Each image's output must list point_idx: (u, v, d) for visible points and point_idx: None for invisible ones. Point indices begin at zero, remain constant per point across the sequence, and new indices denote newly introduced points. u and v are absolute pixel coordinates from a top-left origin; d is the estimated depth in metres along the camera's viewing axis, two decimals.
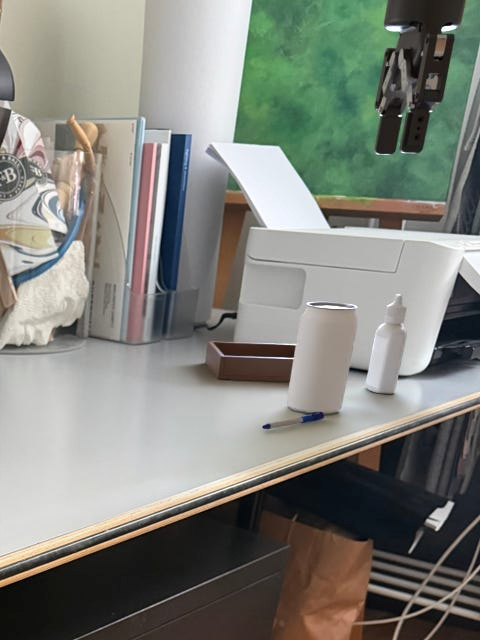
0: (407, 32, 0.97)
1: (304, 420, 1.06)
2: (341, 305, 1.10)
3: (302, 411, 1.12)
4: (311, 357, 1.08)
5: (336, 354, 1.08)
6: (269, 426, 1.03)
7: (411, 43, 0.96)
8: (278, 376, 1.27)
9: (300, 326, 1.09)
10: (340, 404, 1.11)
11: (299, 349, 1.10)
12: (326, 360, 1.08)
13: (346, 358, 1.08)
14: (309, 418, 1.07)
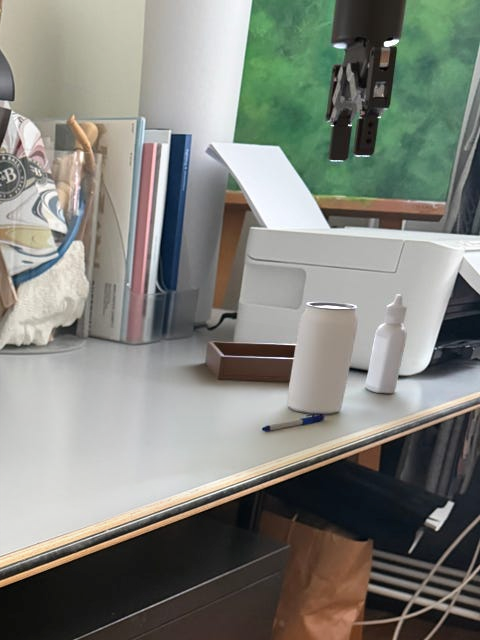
0: (353, 48, 1.06)
1: (304, 422, 1.06)
2: (341, 305, 1.10)
3: (302, 411, 1.12)
4: (311, 357, 1.08)
5: (336, 354, 1.08)
6: (269, 428, 1.03)
7: (357, 57, 1.05)
8: (278, 376, 1.27)
9: (300, 326, 1.09)
10: (340, 404, 1.11)
11: (299, 349, 1.10)
12: (326, 360, 1.08)
13: (346, 358, 1.08)
14: (309, 420, 1.07)
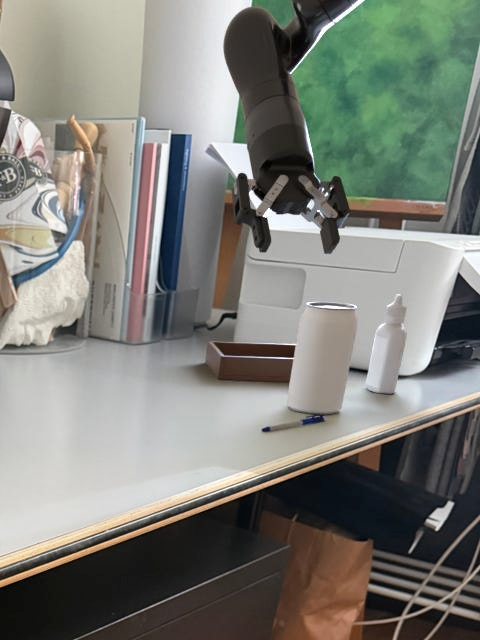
0: None
1: (304, 423, 1.06)
2: (341, 305, 1.10)
3: (302, 411, 1.12)
4: (311, 357, 1.08)
5: (336, 354, 1.08)
6: (268, 429, 1.03)
7: None
8: (278, 376, 1.27)
9: (300, 326, 1.09)
10: (340, 404, 1.11)
11: (299, 349, 1.10)
12: (326, 360, 1.08)
13: (346, 358, 1.08)
14: (309, 421, 1.07)
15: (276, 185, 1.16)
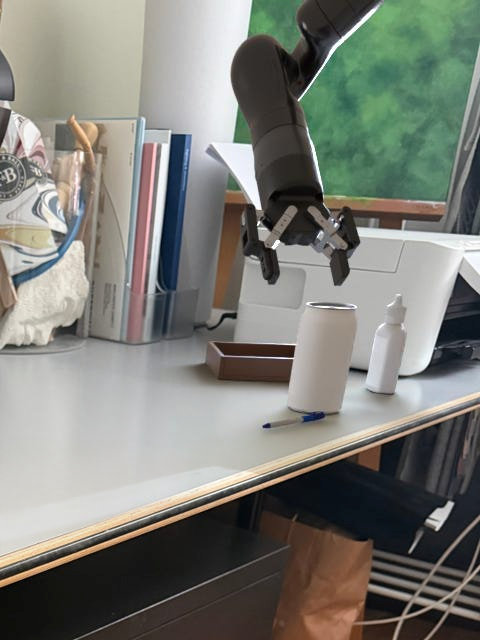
0: None
1: (305, 420, 1.06)
2: (341, 305, 1.10)
3: (302, 411, 1.12)
4: (311, 357, 1.08)
5: (336, 354, 1.08)
6: (269, 425, 1.03)
7: None
8: (278, 376, 1.27)
9: (300, 326, 1.09)
10: (340, 404, 1.11)
11: (299, 349, 1.10)
12: (326, 360, 1.08)
13: (346, 358, 1.08)
14: (310, 418, 1.07)
15: (285, 216, 1.14)
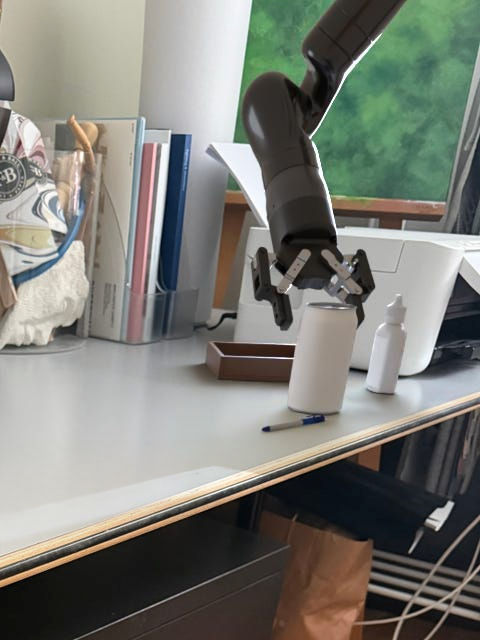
0: None
1: (304, 423, 1.06)
2: (341, 305, 1.10)
3: (302, 411, 1.12)
4: (311, 357, 1.08)
5: (336, 354, 1.08)
6: (269, 428, 1.03)
7: None
8: (278, 376, 1.27)
9: (300, 326, 1.09)
10: (340, 404, 1.11)
11: (299, 349, 1.10)
12: (326, 360, 1.08)
13: (346, 358, 1.08)
14: (309, 421, 1.07)
15: (298, 260, 1.11)
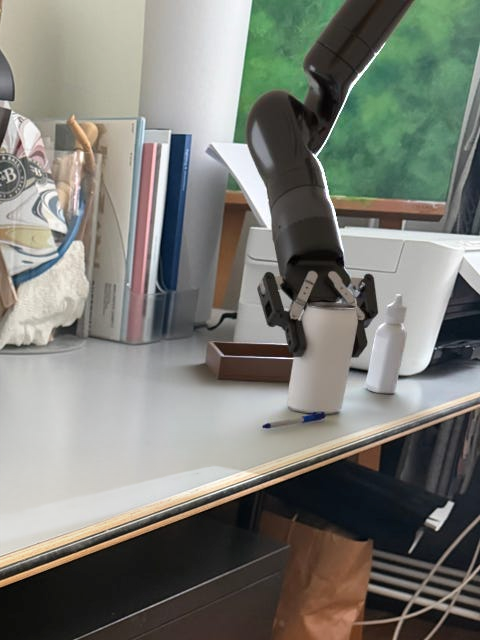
0: None
1: (305, 420, 1.06)
2: (341, 305, 1.10)
3: (302, 411, 1.12)
4: (311, 357, 1.08)
5: (336, 354, 1.08)
6: (269, 425, 1.03)
7: None
8: (278, 376, 1.27)
9: None
10: (340, 404, 1.11)
11: None
12: (326, 360, 1.08)
13: (346, 358, 1.08)
14: (310, 418, 1.07)
15: (306, 283, 1.10)
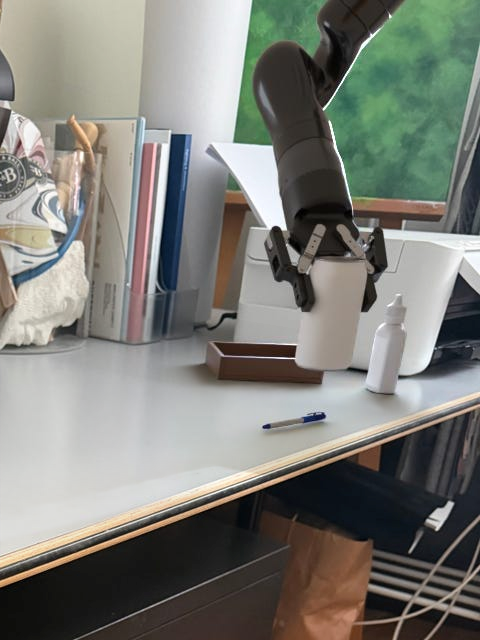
0: None
1: (305, 421, 1.06)
2: (350, 259, 1.08)
3: (311, 368, 1.10)
4: (320, 312, 1.06)
5: (345, 308, 1.05)
6: (269, 426, 1.03)
7: None
8: (278, 376, 1.27)
9: None
10: (349, 360, 1.09)
11: None
12: (335, 314, 1.06)
13: (355, 312, 1.06)
14: (310, 418, 1.07)
15: (314, 237, 1.07)
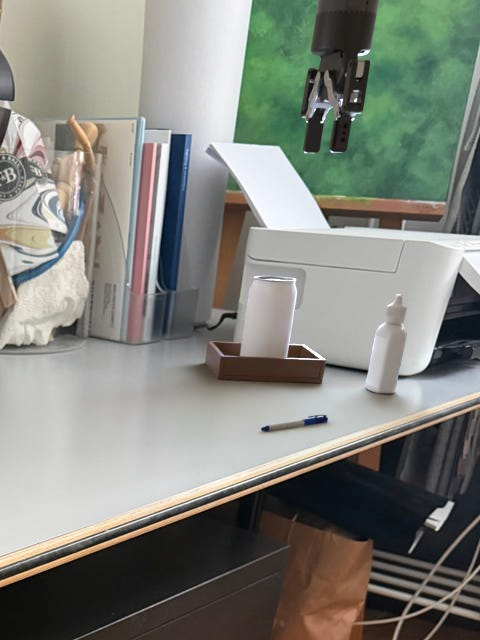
0: (329, 57, 1.23)
1: (306, 423, 1.06)
2: (284, 278, 1.29)
3: None
4: (258, 322, 1.28)
5: (278, 320, 1.27)
6: (268, 428, 1.03)
7: (333, 66, 1.22)
8: (278, 376, 1.27)
9: (248, 296, 1.29)
10: None
11: (248, 316, 1.29)
12: (270, 324, 1.27)
13: (287, 323, 1.28)
14: (311, 421, 1.06)
15: None
